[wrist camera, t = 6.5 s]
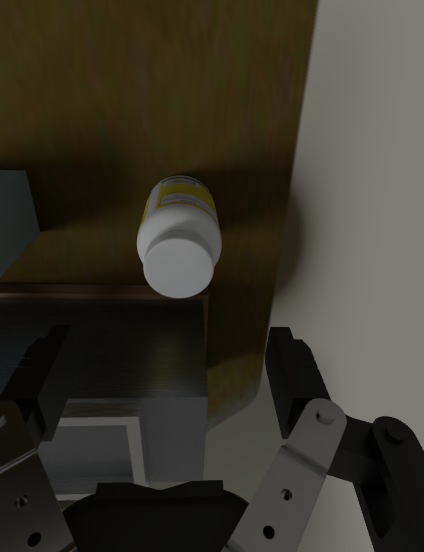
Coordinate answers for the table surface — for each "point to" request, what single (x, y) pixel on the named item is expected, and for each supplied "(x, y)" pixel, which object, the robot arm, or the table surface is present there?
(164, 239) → the supplement bottle
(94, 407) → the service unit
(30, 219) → the rectangular block
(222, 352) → the table surface
